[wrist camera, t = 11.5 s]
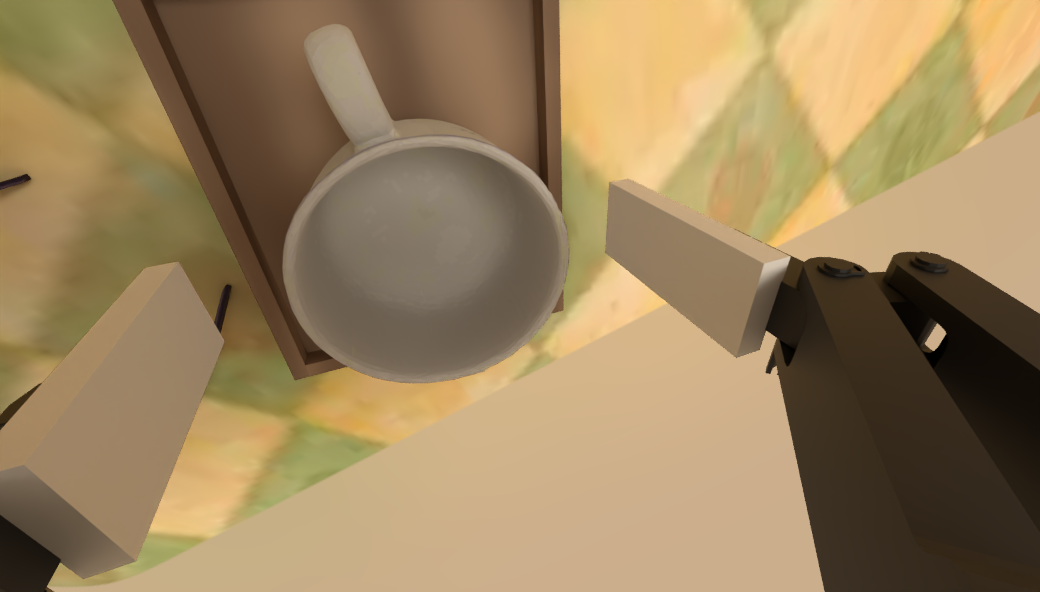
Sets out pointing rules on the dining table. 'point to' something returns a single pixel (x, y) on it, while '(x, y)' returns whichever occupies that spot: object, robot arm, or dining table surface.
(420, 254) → the teacup
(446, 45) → the tray
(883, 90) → the dining table surface
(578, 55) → the dining table surface
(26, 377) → the dining table surface
